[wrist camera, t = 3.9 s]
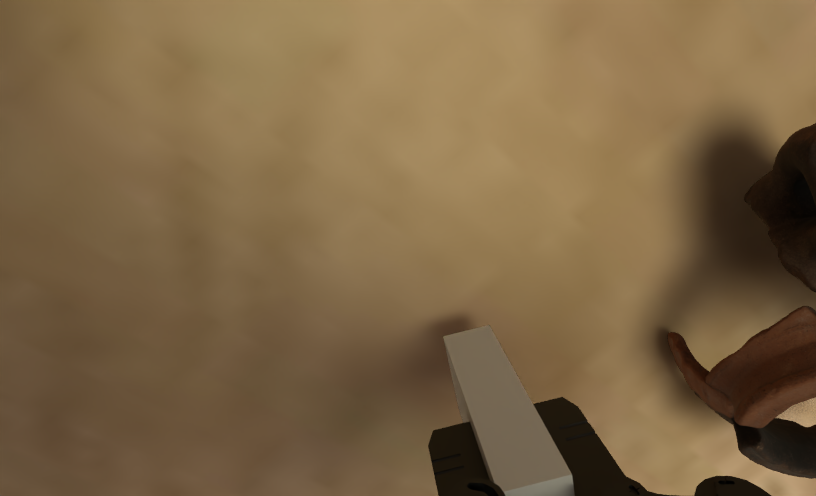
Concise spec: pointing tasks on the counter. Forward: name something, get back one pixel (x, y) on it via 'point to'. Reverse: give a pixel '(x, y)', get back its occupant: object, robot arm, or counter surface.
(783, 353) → the brown broken pot
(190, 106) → the counter surface
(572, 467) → the robot arm
